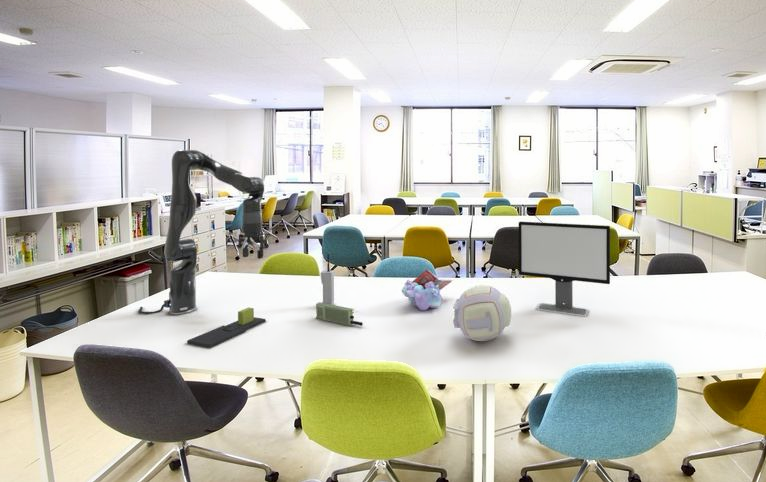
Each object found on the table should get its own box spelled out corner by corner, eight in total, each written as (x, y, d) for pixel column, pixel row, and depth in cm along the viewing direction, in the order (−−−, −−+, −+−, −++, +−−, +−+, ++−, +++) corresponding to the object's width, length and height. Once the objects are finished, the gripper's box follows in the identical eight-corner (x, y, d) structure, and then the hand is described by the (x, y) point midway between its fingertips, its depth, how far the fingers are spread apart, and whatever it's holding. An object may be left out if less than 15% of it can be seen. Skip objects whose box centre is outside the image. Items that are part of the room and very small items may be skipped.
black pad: (218, 331, 148) (218, 315, 148) (247, 318, 160) (247, 304, 160) (237, 334, 145) (236, 318, 145) (265, 321, 157) (265, 306, 157)
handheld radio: (321, 316, 163) (364, 325, 152) (315, 319, 160) (359, 328, 149) (320, 301, 162) (364, 309, 152) (314, 304, 159) (358, 313, 149)
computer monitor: (517, 307, 172) (517, 222, 171) (522, 301, 180) (522, 220, 179) (609, 320, 157) (609, 227, 156) (610, 312, 164) (610, 224, 164)
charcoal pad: (187, 343, 137) (187, 340, 137) (223, 328, 151) (223, 325, 151) (210, 348, 134) (210, 344, 134) (245, 331, 147) (245, 329, 147)
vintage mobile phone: (323, 304, 176) (322, 253, 176) (334, 304, 177) (333, 253, 176) (320, 307, 173) (320, 255, 172) (331, 307, 173) (331, 255, 173)
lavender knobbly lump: (395, 303, 164) (416, 269, 164) (399, 286, 185) (417, 256, 186) (434, 324, 167) (454, 290, 167) (434, 305, 188) (452, 275, 189)
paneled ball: (456, 326, 151) (455, 278, 151) (509, 326, 150) (509, 278, 150) (450, 351, 130) (450, 295, 130) (512, 351, 129) (512, 296, 129)
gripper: (232, 222, 162) (233, 258, 162) (257, 223, 157) (257, 260, 158) (247, 219, 169) (248, 254, 169) (271, 221, 165) (272, 256, 165)
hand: (252, 257), depth 164 cm, fingers open, 8 cm apart
